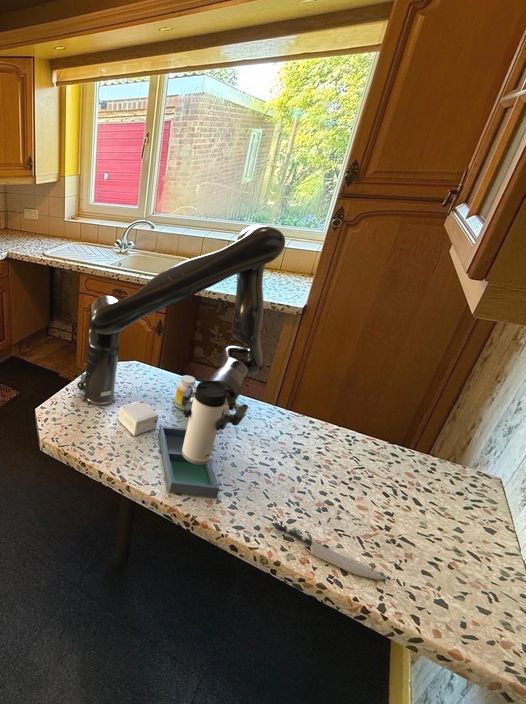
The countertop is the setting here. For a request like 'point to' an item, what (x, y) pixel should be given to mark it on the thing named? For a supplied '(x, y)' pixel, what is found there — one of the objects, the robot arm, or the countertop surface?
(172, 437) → the tray
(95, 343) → the robot arm
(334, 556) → the chef's knife
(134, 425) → the small box
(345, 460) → the countertop surface
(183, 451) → the travel mug
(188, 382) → the supplement bottle
